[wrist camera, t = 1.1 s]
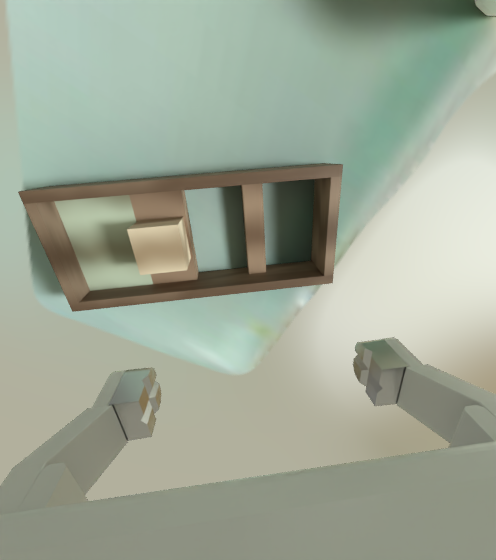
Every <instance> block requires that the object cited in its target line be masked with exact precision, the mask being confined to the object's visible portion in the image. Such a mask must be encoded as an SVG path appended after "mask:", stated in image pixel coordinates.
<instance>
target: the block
mask: <svg viewBox="0 0 496 560" xmlns="http://www.w3.org/2000/svg"><path fill="white" fill-rule="evenodd" d="M127 231H128V235H129V238H130V242H131V245H132V249H133V252H134V256H135V259H136V262H137V266H138V269H139V273H140V275H146V274H156V273H166V272H175V271H185V270H187V269H188V266H189V262H190V259H191V255H190V250H189V244H188V239H187V233H186V228H185V223H184V217H183V216H182V217H171V218H160V219H149V220H139V221H137V222H136V223H135V224H133V225H132V226H131V227H129V228H128V229H127Z"/></svg>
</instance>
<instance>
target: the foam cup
mask: <svg viewBox="0 0 496 560" xmlns="http://www.w3.org/2000/svg"><path fill="white" fill-rule="evenodd" d="M475 4H476V6H477V7H478V8H479V9H480V10H481V11H482V12H483V13H484V14H485V15H486V16H496V0H475Z"/></svg>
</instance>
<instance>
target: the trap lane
mask: <svg viewBox="0 0 496 560" xmlns="http://www.w3.org/2000/svg"><path fill="white" fill-rule="evenodd" d="M342 168H343V164H328V163H322V164H310V165H298V166H286V167H274V168H262V169H250V170H238V171H226V172H214V173H202V174H191V175H179V176H167V177H155V178H143V179H131V180H119V181H107V182H95V183H83V184H71V185H59V186H49V187H43V188H37V189H31V190H26V191H20V192H18V193H19V195H20V197H21V200H22V202H23V204H24V206H25V208H26V211H27V213H28V215H29V217H30V219H31V221H32V224H33V226H34V228H35V230H36V232H37V235H38V237H39V239H40V241H41V243H42V246H43V248H44V250H45V252H46V254H47V257H48V259H49V261H50V263H51V265H52V267H53V270H54V272H55V274H56V276H57V278H58V281H59V283H60V285H61V287H62V289H63V292H64V294H65V296H66V298H67V300H68V303H69V305H70V307H71V309H72V311H82V310H91V309H101V308H110V307H119V306H128V305H137V304H146V303H155V302H165V301H174V300H183V299H192V298H201V297H210V296H219V295H228V294H238V293H247V292H256V291H265V290H274V289H283V288H292V287H302V286H311V285H320V284H329V283H332V282H333V271H334V260H335V249H336V237H337V226H338V214H339V203H340V191H341V180H342ZM306 179H315V181H314V205H313V228H312V251H311V261H304V262H294V263H284V264H275V265H266V258H265V235H264V212H263V190H262V183H272V182H283V181H295V180H306ZM237 185H241V192H242V204H243V217H244V229H245V242H246V255H247V267H246V268H236V269H227V270H217V271H207V272H199V271H198V266H197V260H196V254H195V249H194V243H193V237H192V231H191V226H190V220H189V214H188V209H187V203H186V197H185V192H184V190H191V189H203V188H214V187H226V186H237ZM182 216H183V217H184V223H185V228H186V233H187V239H188V244H189V250H190V255H191V259H190V262H189V266H188V269H187V270H185V271H175V272H166V273H156V274H146V275H140V273H139V269H138V266H137V262H136V259H135V256H134V252H133V249H132V245H131V242H130V238H129V235H128V231H127V229H128V228H129V227H131V226H132V225H133V224H135V223H136V222H137V221H139V220H149V219H160V218H171V217H182Z"/></svg>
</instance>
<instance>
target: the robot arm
mask: <svg viewBox="0 0 496 560" xmlns="http://www.w3.org/2000/svg"><path fill="white" fill-rule="evenodd" d="M355 351H356V353H357V354H358V355H357V356H356V357H355V358H354V362H353V367H354V372H355V375H356V377H357V379H358V381H359V382H360V383H361V384H363V385H364V386H366V393H367V395H368V396H369V398H370V399H371V401H372V402H373V404H374V406H382V405H391V404H397V405H398V406H399V407H401V408H402V409H403V410H405V411H406V412H407V413H409V414H410V415H412V416H413V417H414V418H416V419H417V420H418V421H420V422H421V423H423V424H424V425H425V426H427V427H428V428H430V429H431V430H432V431H434V432H435V433H437V434H438V435H439V436H441V437H442V438H444V439H445V440H446V441H448V442H449V443H450V445H449V447H448V448H445V449H438V450H432V451H425V452H418V453H411V454H405V455H398V456H391V457H384V458H378V459H371V460H364V461H357V462H351V463H344V464H337V465H331V466H324V467H317V468H311V469H305V470H298V471H291V472H284V473H277V474H270V475H263V476H257V477H250V478H243V479H236V480H229V481H223V482H216V483H209V484H203V485H196V486H189V487H182V488H175V489H169V490H163V491H155V492H149V493H141V494H135V495H128V496H121V497H115V498H108V499H101V500H95V501H88V499H87V498H86V497H85V494H86V493H87V492H88V491H89V489H90V488H91V487H92V486H93V485H94V483H95V482H96V481H97V480H98V478H99V477H100V476H101V475H102V473H103V472H104V471H105V470H106V468H107V467H108V466H109V465H110V463H111V462H112V461H113V460H114V459H115V457H116V456H117V455H118V454H119V452H120V451H121V450H122V448H123V447H124V446H125V445H126V443H127V441H129V440H135V439H141V438H147V437H152V433H153V430H154V426H155V422H156V418H155V415H154V414H155V413H156V411H158V410H159V407H160V403H161V388H160V385H159V383H158V382H156V381H155V379H156V372H155V370H154V368H143V369H134V370H126V371H115V372H113V373H111V374H110V376H109V377H108V379H107V381H106V383H105V385H104V387H103V388H102V390H101V392H100V394H99V396H98V397H97V399H96V401H95V403H94V405H93V407H92V408H87V409H86V410H85V411H84V412H82V413H81V414H80V415H79V416H77V417H76V418H75V419H74V420H72V421H71V422H70V423H69V424H67V425H66V426H65V427H64V428H62V429H61V430H60V431H59V432H57V433H56V434H55V435H54V436H52V437H51V438H50V439H49V440H48V441H46V442H45V443H44V444H42V445H41V446H40V447H39V448H37V449H36V450H35V451H34V452H32V453H31V454H30V455H29V456H28V457H26V458H25V459H24V460H23V461H21V462H20V463H19V464H17V465H16V466H15V467H14V468H13V469H12V470H11V472H10V473H9V474H8V476H7V477H6V479H5V480H4V481H3V483H2V484H1V486H0V560H496V394H494V393H491V392H489V391H487V390H484V389H482V388H480V387H478V386H475V385H473V384H471V383H469V382H466V381H464V380H462V379H459V378H457V377H455V376H453V375H450V374H448V373H446V372H444V371H441V370H439V369H436V368H434V367H432V366H430V365H428V364H427V365H423V364H422V363H421V362H420V361H419V360H418V359H417V358H416V357H415V356H414V355H413V354H412V353H411V352H410V351H409V350H408V349H407V348H406V347H405V346H404V345H403V344H402V343H401V342H400V341H399V340H398V339H396V338H394V337H393V338H386V339H381V340H372V341H364V342H357V344H356V346H355Z"/></svg>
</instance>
